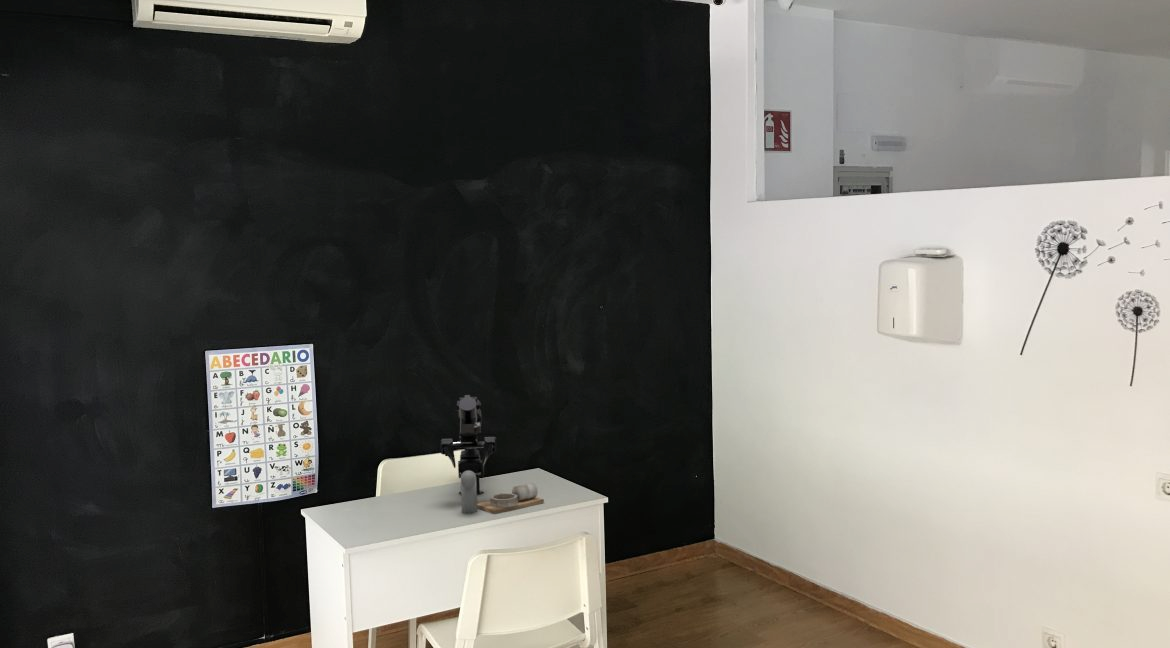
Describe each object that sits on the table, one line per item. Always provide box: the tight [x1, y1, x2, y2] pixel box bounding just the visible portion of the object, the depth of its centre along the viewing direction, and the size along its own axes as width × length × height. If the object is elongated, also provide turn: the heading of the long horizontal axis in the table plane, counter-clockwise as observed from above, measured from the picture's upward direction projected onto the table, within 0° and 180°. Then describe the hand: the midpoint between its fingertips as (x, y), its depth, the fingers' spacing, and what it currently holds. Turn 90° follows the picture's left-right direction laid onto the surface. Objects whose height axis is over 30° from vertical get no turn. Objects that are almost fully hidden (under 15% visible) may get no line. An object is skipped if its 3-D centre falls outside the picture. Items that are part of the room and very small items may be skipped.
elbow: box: [460, 470, 478, 514], centre depth 294 cm, size 7×5×14 cm
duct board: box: [477, 482, 545, 515], centre depth 302 cm, size 12×20×6 cm, turn 130°
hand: (468, 466), depth 300 cm, fingers open, 9 cm apart
